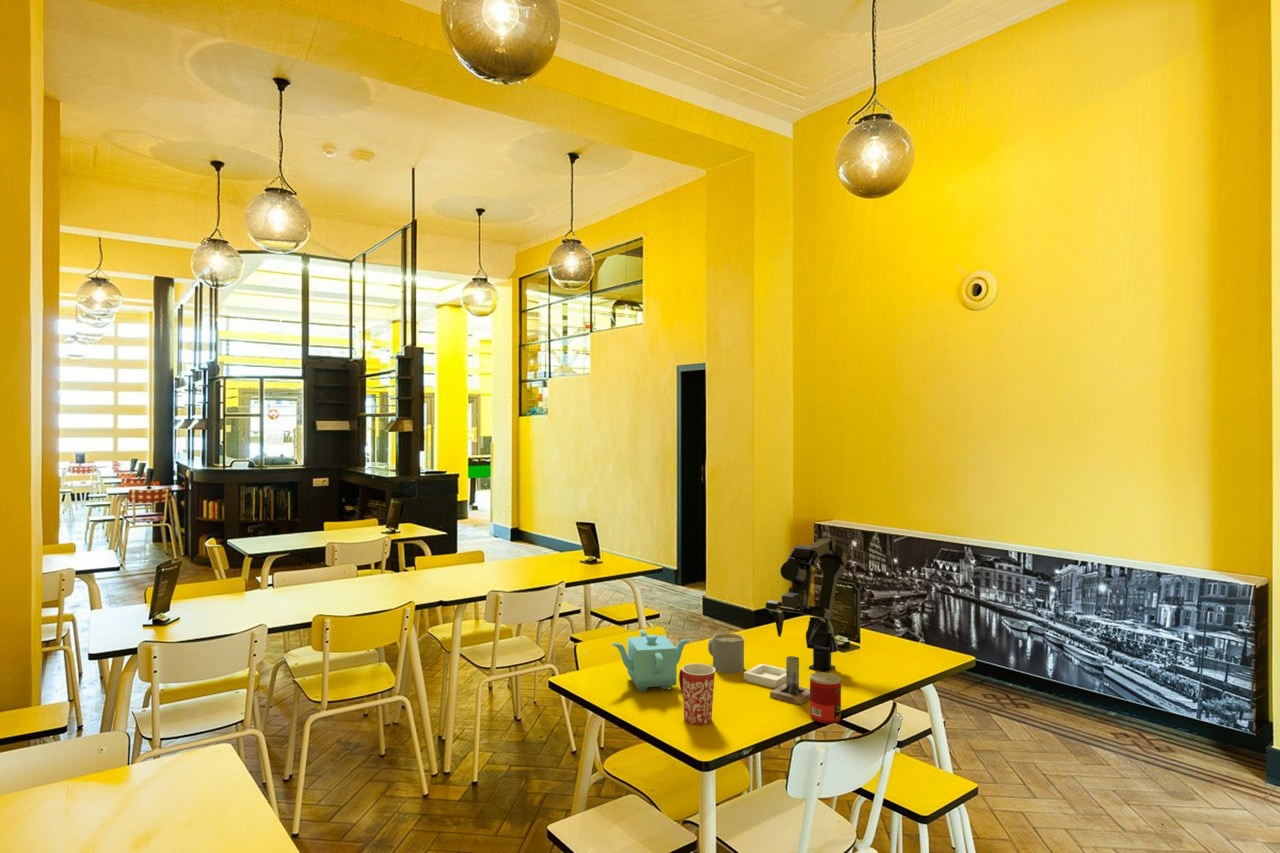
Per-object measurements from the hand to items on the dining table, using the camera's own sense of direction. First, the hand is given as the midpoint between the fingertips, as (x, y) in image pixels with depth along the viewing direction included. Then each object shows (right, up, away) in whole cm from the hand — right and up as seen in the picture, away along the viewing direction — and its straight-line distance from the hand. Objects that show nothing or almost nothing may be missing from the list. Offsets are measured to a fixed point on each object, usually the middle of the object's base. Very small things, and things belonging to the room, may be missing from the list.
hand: (793, 639), depth 208 cm
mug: (-31, -14, -22) cm, 41 cm away
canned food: (+4, -15, -22) cm, 27 cm away
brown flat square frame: (-2, -15, -6) cm, 16 cm away
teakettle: (-43, -15, +4) cm, 45 cm away
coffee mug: (-18, -15, +20) cm, 31 cm away
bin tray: (-6, -15, +8) cm, 18 cm away
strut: (-2, -15, -6) cm, 16 cm away
